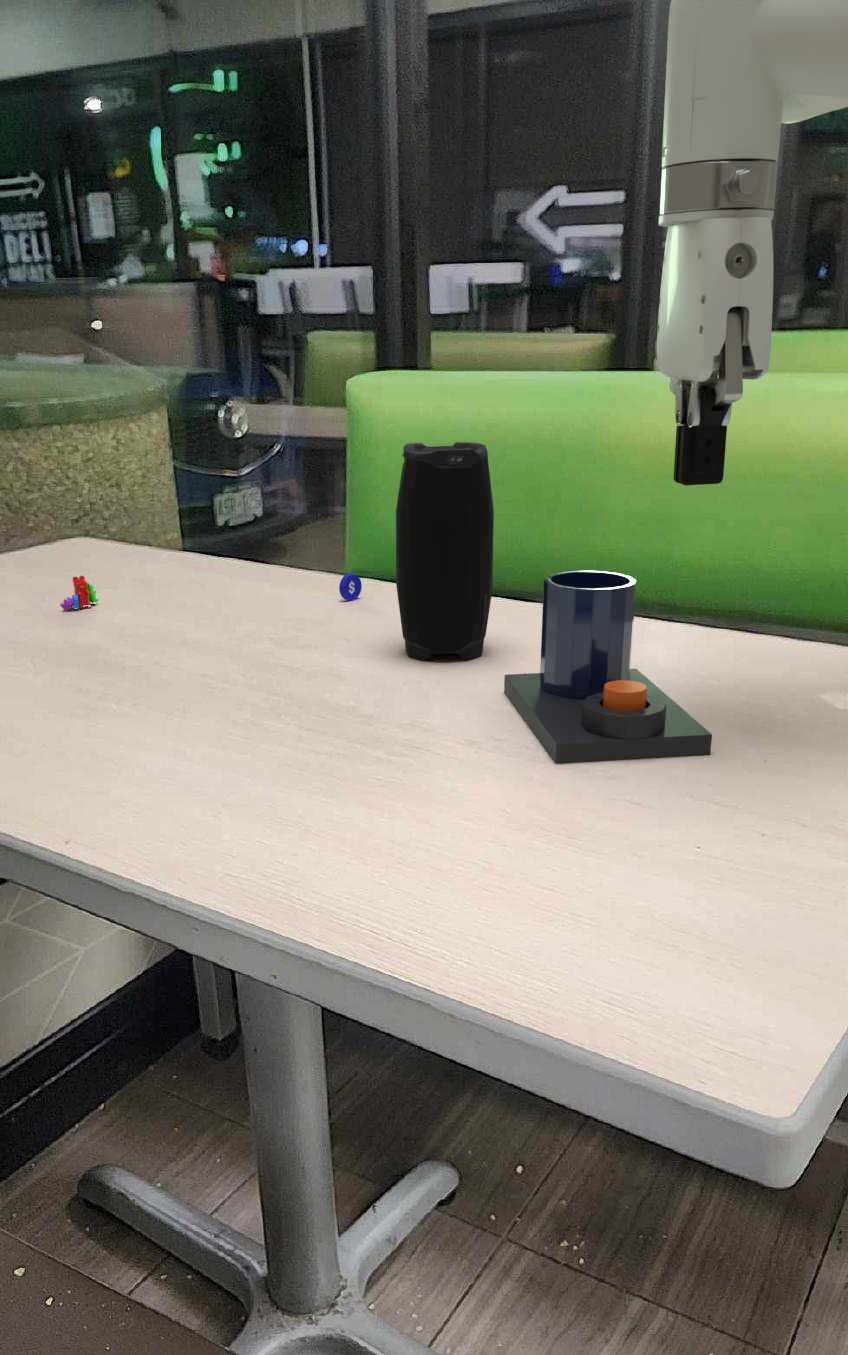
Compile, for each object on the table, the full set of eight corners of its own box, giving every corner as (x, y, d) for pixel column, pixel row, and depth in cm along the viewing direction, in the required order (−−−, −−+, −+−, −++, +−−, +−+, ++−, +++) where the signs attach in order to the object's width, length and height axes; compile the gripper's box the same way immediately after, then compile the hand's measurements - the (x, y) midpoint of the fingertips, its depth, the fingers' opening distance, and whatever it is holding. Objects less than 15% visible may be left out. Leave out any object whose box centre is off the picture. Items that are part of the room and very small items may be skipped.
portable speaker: (380, 652, 114) (376, 445, 106) (451, 636, 119) (452, 438, 111) (437, 670, 108) (437, 452, 100) (509, 653, 113) (514, 445, 105)
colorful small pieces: (65, 613, 129) (61, 581, 128) (55, 608, 131) (50, 577, 130) (106, 606, 132) (102, 575, 131) (95, 602, 134) (92, 571, 133)
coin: (343, 602, 134) (343, 576, 133) (339, 601, 134) (338, 575, 133) (362, 598, 136) (361, 572, 135) (357, 597, 136) (357, 571, 135)
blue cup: (613, 672, 101) (620, 569, 97) (640, 697, 94) (648, 587, 91) (531, 675, 100) (535, 572, 96) (552, 701, 93) (557, 591, 90)
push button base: (635, 686, 103) (637, 648, 101) (710, 756, 86) (715, 711, 85) (504, 693, 101) (504, 654, 100) (555, 764, 85) (557, 720, 83)
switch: (637, 700, 89) (639, 679, 88) (651, 713, 86) (653, 691, 85) (597, 702, 88) (599, 681, 88) (609, 715, 85) (611, 693, 85)
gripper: (822, 186, 70) (791, 494, 78) (726, 207, 84) (707, 468, 91) (705, 188, 69) (686, 500, 77) (627, 209, 83) (617, 473, 90)
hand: (697, 482), depth 84 cm, fingers closed
